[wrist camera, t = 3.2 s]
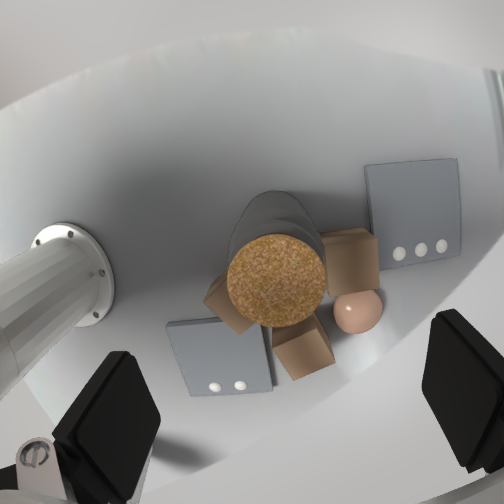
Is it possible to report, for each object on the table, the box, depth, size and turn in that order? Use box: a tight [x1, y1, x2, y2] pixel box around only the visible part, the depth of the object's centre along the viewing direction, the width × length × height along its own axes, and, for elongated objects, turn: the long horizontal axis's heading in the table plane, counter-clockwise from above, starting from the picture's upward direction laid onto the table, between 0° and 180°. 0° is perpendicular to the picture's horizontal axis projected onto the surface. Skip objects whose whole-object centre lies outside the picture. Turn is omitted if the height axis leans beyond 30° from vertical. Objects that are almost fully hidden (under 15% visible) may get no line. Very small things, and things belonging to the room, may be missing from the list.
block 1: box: [203, 269, 255, 336], centre depth 29 cm, size 4×4×4 cm
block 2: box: [272, 312, 335, 381], centre depth 30 cm, size 4×4×4 cm
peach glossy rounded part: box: [333, 290, 383, 334], centre depth 30 cm, size 5×5×2 cm
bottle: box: [227, 191, 326, 327], centre depth 22 cm, size 6×6×15 cm
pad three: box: [364, 159, 460, 271], centre depth 27 cm, size 10×10×1 cm
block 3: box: [319, 227, 379, 297], centre depth 27 cm, size 4×4×4 cm
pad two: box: [166, 318, 273, 396], centre depth 33 cm, size 10×10×1 cm
